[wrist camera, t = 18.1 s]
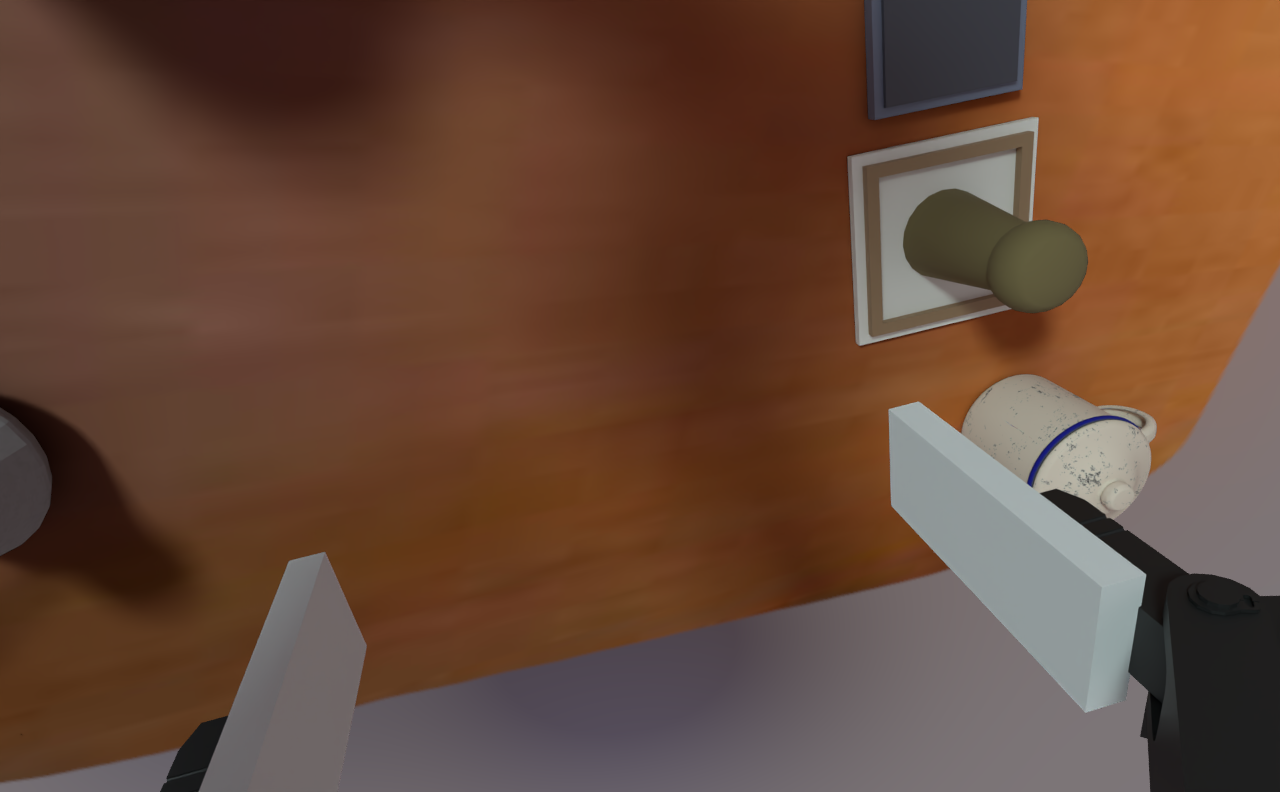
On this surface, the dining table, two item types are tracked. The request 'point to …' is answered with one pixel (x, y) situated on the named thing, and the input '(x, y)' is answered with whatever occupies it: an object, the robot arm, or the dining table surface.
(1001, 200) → the board
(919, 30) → the ink pad
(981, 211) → the olive knob handle
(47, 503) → the coffee pot
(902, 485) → the robot arm
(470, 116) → the dining table surface
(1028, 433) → the teacup with lid
